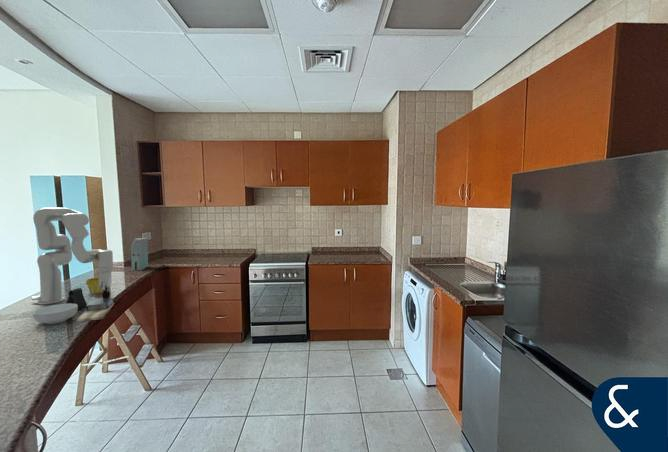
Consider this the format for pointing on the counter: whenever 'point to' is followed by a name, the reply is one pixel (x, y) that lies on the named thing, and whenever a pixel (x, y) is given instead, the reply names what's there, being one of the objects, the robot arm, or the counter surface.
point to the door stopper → (77, 298)
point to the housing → (99, 304)
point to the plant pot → (93, 285)
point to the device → (139, 253)
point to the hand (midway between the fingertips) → (106, 297)
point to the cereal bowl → (55, 313)
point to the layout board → (94, 314)
